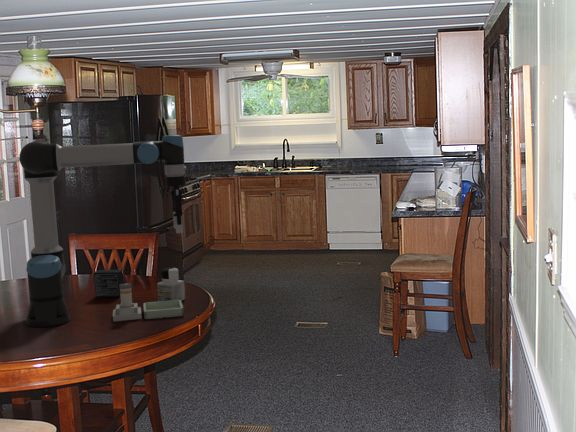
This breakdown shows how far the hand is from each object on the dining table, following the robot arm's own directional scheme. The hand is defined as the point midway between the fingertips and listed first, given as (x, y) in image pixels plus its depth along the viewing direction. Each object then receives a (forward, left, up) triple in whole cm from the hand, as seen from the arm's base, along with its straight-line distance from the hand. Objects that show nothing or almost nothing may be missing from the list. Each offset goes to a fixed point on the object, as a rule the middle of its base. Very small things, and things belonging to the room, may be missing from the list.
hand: (178, 230), depth 299 cm
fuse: (-21, -16, -26) cm, 37 cm away
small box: (-28, +22, -28) cm, 45 cm away
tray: (-8, -15, -28) cm, 33 cm away
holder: (-21, -16, -28) cm, 39 cm away
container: (-4, +3, -28) cm, 29 cm away
